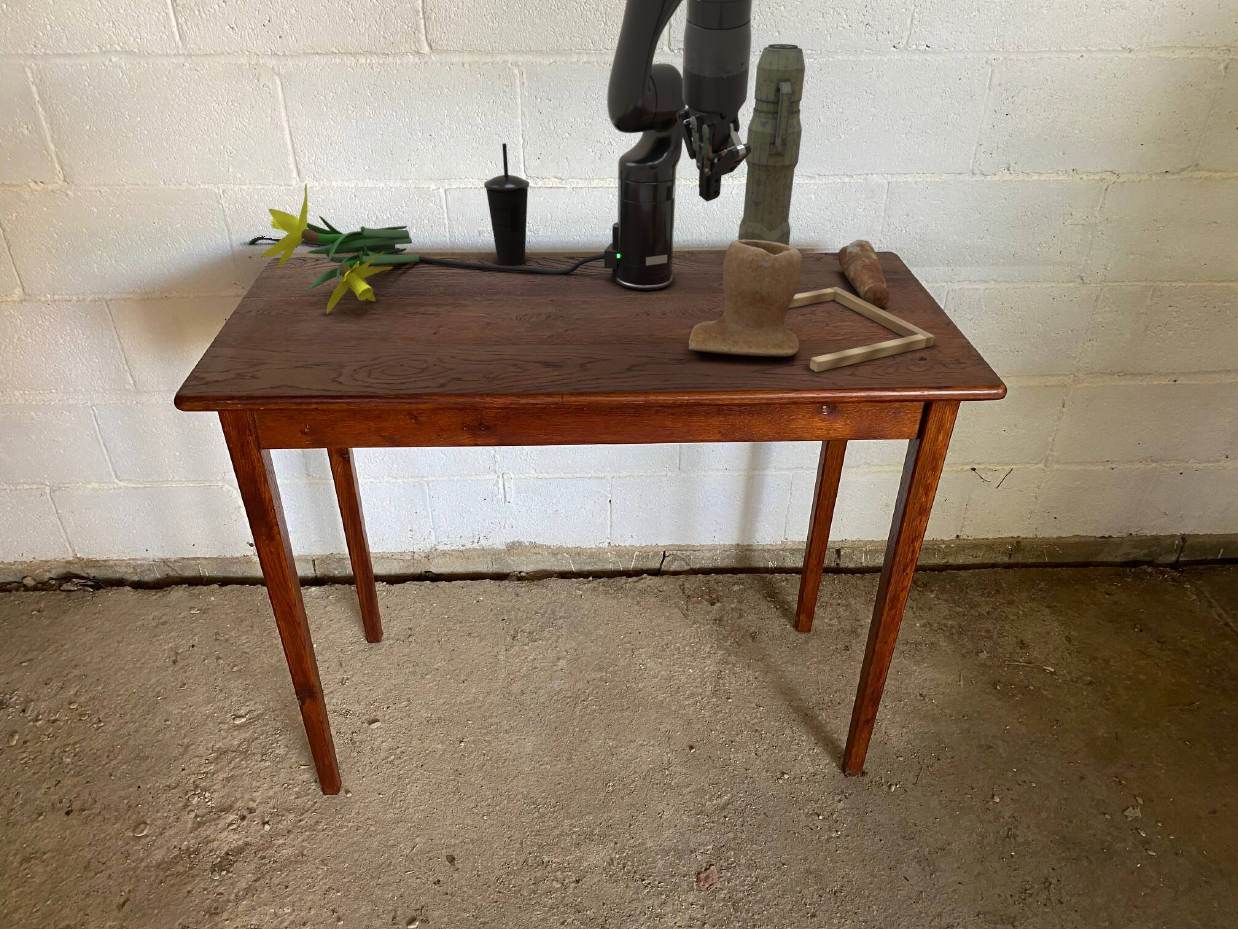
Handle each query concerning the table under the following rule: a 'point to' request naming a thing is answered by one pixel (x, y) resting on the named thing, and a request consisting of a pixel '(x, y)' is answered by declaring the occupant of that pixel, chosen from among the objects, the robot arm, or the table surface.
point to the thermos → (773, 144)
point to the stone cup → (753, 302)
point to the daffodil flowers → (342, 250)
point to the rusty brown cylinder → (864, 272)
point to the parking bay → (911, 333)
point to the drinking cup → (508, 214)
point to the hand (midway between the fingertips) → (708, 196)
